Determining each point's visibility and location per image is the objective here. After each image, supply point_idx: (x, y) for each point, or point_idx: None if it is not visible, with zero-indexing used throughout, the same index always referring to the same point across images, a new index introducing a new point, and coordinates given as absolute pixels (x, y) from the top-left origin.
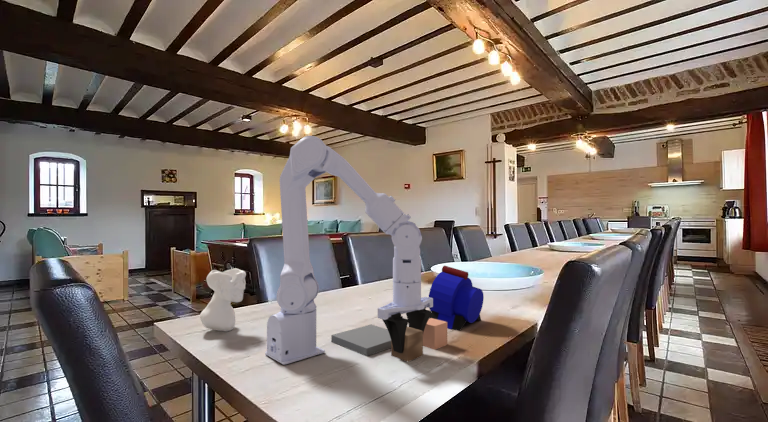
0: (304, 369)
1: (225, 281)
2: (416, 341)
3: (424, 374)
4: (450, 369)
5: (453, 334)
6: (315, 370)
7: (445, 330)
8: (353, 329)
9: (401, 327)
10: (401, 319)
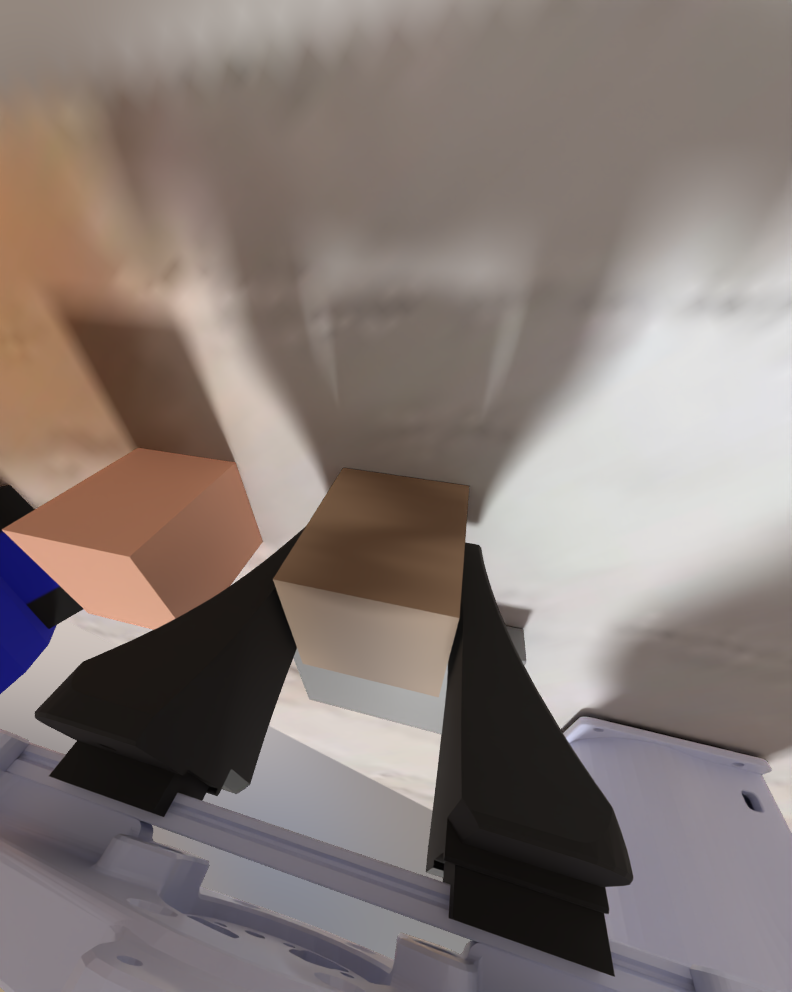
0: (780, 719)
1: None
2: (369, 542)
3: (612, 281)
4: (382, 155)
5: (54, 485)
6: (779, 698)
7: (76, 498)
8: (387, 718)
9: (557, 744)
10: (534, 857)
